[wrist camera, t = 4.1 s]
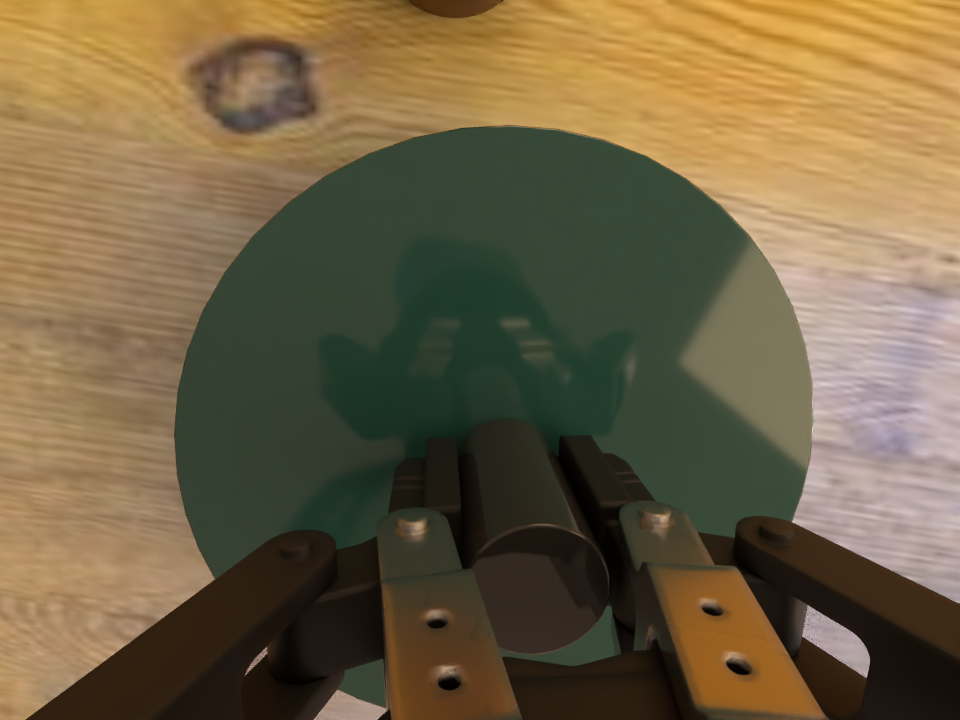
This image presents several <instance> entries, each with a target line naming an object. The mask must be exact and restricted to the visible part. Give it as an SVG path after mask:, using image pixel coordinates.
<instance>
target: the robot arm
mask: <svg viewBox="0 0 960 720" xmlns="http://www.w3.org/2000/svg"><path fill="white" fill-rule="evenodd" d="M558 459H559V461H560V463H561V466H562V468H563V470H564V472H565V474H566V476H567V478H568V481H569V483H570V485H571V487H572V489H573V491H574V493H575V495H576V498H577V500H578V502H579V504H580V506H581V508H582V510H583V512H584V515H585V517H586V519H587V521H588V523H589V525H590V527H591V529H592V532H593V534H594V536H595V538H596V540H597V542H598V544H599V546H600V549H601V551H602V553H603V555H604V557H605V559H606V561H607V564H608V567H609V571H610V577H611V589H610V596H609V600H608V603H607V606H611V608H612V618H611V636H612V641H613V646H614V651H615V656H612V657H608V658H605V659H601V660H597V661H594V662H590V663H586V664H583V665H578V666H568V665H561V664H554V663H547V662H541V661H534V660H527V659H521V658H514V657H501V654H500V651H499V648H498V645H497V642H496V639H495V636H494V633H493V630H492V627H491V624H490V620H489V617H488V614H487V611H486V608H485V605H484V602H483V599H482V596H481V593H480V590H479V587H478V584H477V581H476V578H475V575H474V573H473V570H472V569H471V568H469V569H462V565H461V562H460V559H459V558H460V550H461V498H460V485H459V472H458V459H457V445H456V438H427V448H426V458H405V459H404V460H403V461H402V462H401V463H400V464H399V465H398V466H397V467H396V468H395V473H394V481H393V486H392V492H391V498H390V504H389V510H388V514H387V515H386V516H384V517H383V518H382V519H381V520H380V521H379V522H378V524H377V536H375V537H374V538H372V539H370V540H368V541H366V542H363V543H361V544H358V545H354V546H350V547H345V548H341V549H337V550H336V542H335V540H334V538H333V537H332V536H330V535H329V534H327V533H325V532H322V531H318V530H295V531H290V532H287V533H283V534H280V535H278V536H276V537H274V538H272V539H270V540H268V541H267V542H265V543H264V544H263V545H261V546H260V547H258V548H257V549H256V550H254V551H253V552H252V553H250V554H249V555H248V556H246V557H245V558H244V559H242V560H241V561H240V562H238V563H237V564H235V565H234V566H233V567H231V568H230V569H229V570H227V571H226V572H225V573H223V574H222V575H221V576H219V577H218V578H217V579H215V580H214V581H212V582H211V583H210V584H208V585H207V586H206V587H204V588H203V589H202V590H200V591H199V592H198V593H196V594H195V595H194V596H192V597H191V598H189V599H188V600H187V601H185V602H184V603H183V604H181V605H180V606H179V607H177V608H176V609H175V610H173V611H172V612H171V613H169V614H168V615H167V616H165V617H164V618H162V619H161V620H160V621H158V622H157V623H156V624H154V625H153V626H152V627H150V628H149V629H148V630H146V631H145V632H144V633H142V634H141V635H139V636H138V637H137V638H135V639H134V640H133V641H131V642H130V643H129V644H127V645H126V646H125V647H123V648H122V649H121V650H119V651H118V652H116V653H115V654H114V655H112V656H111V657H110V658H108V659H107V660H106V661H104V662H103V663H102V664H100V665H99V666H98V667H96V668H95V669H93V670H92V671H91V672H89V673H88V674H87V675H85V676H84V677H83V678H81V679H80V680H79V681H77V682H76V683H75V684H73V685H72V686H70V687H69V688H68V689H66V690H65V691H64V692H62V693H61V694H60V695H58V696H57V697H56V698H54V699H53V700H52V701H50V702H49V703H47V704H46V705H45V706H43V707H42V708H41V709H39V710H38V711H37V712H35V713H34V714H33V715H31V716H30V717H29V718H27V719H26V720H314V718H315V717H316V716H317V715H318V713H319V712H320V711H321V709H322V708H323V707H324V706H325V704H326V703H327V702H328V701H329V699H330V698H331V697H332V696H333V694H334V693H335V692H336V691H337V689H338V688H339V686H340V685H341V683H342V681H343V678H344V670H347V669H351V668H354V667H357V666H360V665H364V664H367V663H370V662H373V661H377V660H380V659H383V670H384V685H385V699H386V712H385V713H384V714H383V715H382V716H381V717H380V718H379V719H378V720H960V604H959V603H956V602H954V601H952V600H950V599H948V598H946V597H944V596H942V595H940V594H938V593H936V592H934V591H932V590H930V589H928V588H926V587H924V586H922V585H920V584H917V583H915V582H913V581H911V580H909V579H907V578H905V577H903V576H901V575H899V574H897V573H895V572H893V571H891V570H889V569H887V568H885V567H883V566H881V565H878V564H876V563H874V562H872V561H870V560H868V559H866V558H864V557H862V556H860V555H858V554H856V553H854V552H852V551H850V550H848V549H846V548H844V547H842V546H839V545H837V544H835V543H833V542H831V541H829V540H827V539H825V538H823V537H821V536H819V535H817V534H815V533H813V532H811V531H809V530H807V529H805V528H803V527H800V526H798V525H796V524H794V523H792V522H789V521H786V520H783V519H779V518H774V517H768V516H750V517H746V518H743V519H741V520H739V521H738V522H737V524H736V530H735V538H733V537H727V536H720V535H713V534H707V533H701V532H698V531H696V529H695V527H694V525H693V523H692V521H691V519H690V518H689V516H688V515H687V514H686V513H685V512H683V511H682V510H680V509H678V508H676V507H674V506H672V505H669V504H666V503H662V502H656V501H655V499H654V498H653V496H652V495H651V494H650V492H649V491H648V490H647V488H646V487H645V486H644V484H643V483H641V480H640V479H639V477H638V476H637V475H636V474H635V472H634V471H633V469H632V468H631V466H630V465H629V464H628V462H626V461H625V460H623V459H621V458H620V457H618V456H616V455H615V454H613V453H602V451H601V450H600V448H599V447H598V445H597V444H596V442H595V441H594V439H593V438H592V436H591V435H563V436H560V439H559V447H558ZM807 605H809V606H810V607H812V608H814V609H815V610H817V611H819V612H820V613H822V614H824V615H825V616H827V617H829V618H830V619H832V620H834V621H835V622H837V623H839V624H840V625H842V626H844V627H845V628H847V629H849V630H850V631H852V632H853V633H854V634H856V635H857V636H858V637H859V638H860V639H861V641H862V642H863V643H864V645H865V646H866V648H867V650H868V652H869V656H870V666H869V671H868V676H867V679H866V678H865V677H863V676H862V675H860V674H859V673H857V672H856V671H854V670H853V669H851V668H850V667H848V666H847V665H845V664H843V663H842V662H840V661H839V660H837V659H836V658H834V657H833V656H831V655H830V654H828V653H827V652H825V651H824V650H822V649H820V648H819V647H817V646H816V645H814V644H813V643H811V642H810V641H808V640H807V639H805V638H804V637H802V634H803V628H804V622H805V616H806V611H807ZM266 647H267V652H268V654H267V655H266V656H265V657H264V658H263V659H262V660H261V661H260V662H259V663H258V664H257V665H256V666H255V667H254V668H253V669H252V670H251V671H250V672H249V673H248V674H246V675H245V673H246V671H247V669H248V667H249V666H250V664H251V663H252V661H253V660H254V659H255V658H256V657H257V656H258V655H259V654H260V653H261V652H262V651H263V650H264V649H265V648H266Z"/></svg>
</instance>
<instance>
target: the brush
mask: <svg viewBox="0 0 960 720" xmlns="http://www.w3.org/2000/svg"><path fill="white" fill-rule="evenodd" d="M409 1H411V2H412V3H413V4H414V5H416V6H418V7H420V8H421V9H423V10H425V11H427V12H430V13H432V14H435V15H439V16H443V17H452V18H461V17H469V16H474V15H477V14H480V13H483V12H485V11H487V10H489V9H491V8H493V7H495V6H496V5H497V4H499V3H500V2H502V1H503V0H409Z"/></svg>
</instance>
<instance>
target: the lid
mask: <svg viewBox="0 0 960 720" xmlns="http://www.w3.org/2000/svg"><path fill="white" fill-rule="evenodd" d="M813 424H814V413H813V389H812V378H811V373H810V368H809V362H808V357H807V351H806V346H805V342H804V339H803V336H802V333H801V330H800V327H799V324H798V321H797V318H796V315H795V312H794V309H793V306H792V304H791V302H790V300H789V298H788V297H787V295H786V293H785V291H784V289H783V287H782V285H781V283H780V281H779V279H778V277H777V275H776V273H775V271H774V269H773V268H772V266H771V265H770V264H769V262H768V261H767V259H766V258H765V257H764V255H763V254H762V252H761V251H760V249H759V248H758V247H757V245H756V244H755V242H754V241H753V240H752V238H751V237H750V235H749V234H748V233H747V232H746V231H745V230H744V229H743V228H742V227H741V226H740V225H739V224H738V223H737V222H736V221H735V220H734V219H733V218H732V217H731V216H730V215H729V214H728V213H727V211H726V210H725V209H724V208H723V207H722V206H721V205H720V204H718V203H717V202H716V201H714V200H713V199H712V198H711V197H709V196H708V195H707V194H705V193H704V192H703V191H702V190H700V189H699V188H698V187H696V186H695V185H694V184H693V183H691V182H690V181H689V180H687V179H686V178H684V177H683V176H681V175H679V174H677V173H676V172H674V171H672V170H670V169H669V168H667V167H665V166H663V165H661V164H660V163H658V162H656V161H654V160H653V159H651V158H649V157H647V156H645V155H642V154H640V153H637V152H635V151H632V150H629V149H627V148H624V147H622V146H619V145H616V144H614V143H611V142H609V141H606V140H603V139H599V138H595V137H590V136H586V135H582V134H577V133H573V132H569V131H564V130H560V129H551V128H539V127H527V126H515V125H504V126H486V127H468V128H459V129H454V130H449V131H444V132H439V133H434V134H429V135H424V136H419V137H414V138H411V139H409V140H406V141H403V142H400V143H397V144H394V145H391V146H389V147H386V148H383V149H380V150H377V151H374V152H372V153H369V154H367V155H365V156H363V157H361V158H359V159H357V160H355V161H353V162H351V163H349V164H347V165H346V166H344V167H342V168H340V169H338V170H336V171H334V172H332V173H330V174H328V175H326V176H325V177H323V178H322V179H321V180H319V181H318V182H316V183H315V184H314V185H312V186H311V187H309V188H308V189H307V190H305V191H304V192H302V193H301V194H300V195H298V196H297V197H295V198H294V199H292V200H291V201H290V202H288V203H287V204H286V205H285V206H284V207H283V208H282V209H281V210H280V211H279V212H278V213H276V214H275V215H274V216H273V217H272V218H271V219H270V220H269V221H268V222H267V223H266V224H265V225H264V226H263V227H262V228H261V229H260V230H259V231H258V232H257V233H255V234H254V235H253V237H252V238H251V239H250V240H249V242H248V243H247V244H246V246H245V247H244V248H243V249H242V251H241V252H240V253H239V254H238V256H237V257H236V258H235V260H234V261H233V262H232V263H231V265H230V266H229V267H228V268H227V270H226V271H225V273H224V274H223V276H222V278H221V280H220V281H219V283H218V285H217V287H216V288H215V290H214V292H213V294H212V295H211V297H210V299H209V301H208V302H207V304H206V306H205V307H204V309H203V311H202V314H201V316H200V319H199V322H198V324H197V327H196V329H195V332H194V334H193V337H192V339H191V342H190V344H189V347H188V350H187V353H186V357H185V362H184V366H183V370H182V375H181V379H180V383H179V388H178V392H177V405H176V417H175V430H174V438H175V453H176V467H177V477H178V481H179V486H180V491H181V495H182V500H183V504H184V509H185V513H186V516H187V519H188V521H189V524H190V527H191V529H192V532H193V535H194V538H195V540H196V543H197V546H198V548H199V550H200V552H201V554H202V556H203V558H204V560H205V562H206V563H207V565H208V567H209V569H210V571H211V573H212V575H213V576H214V578H215V579H217V578H218V577H219V576H221V575H222V574H223V573H225V572H226V571H227V570H229V569H230V568H231V567H233V566H234V565H235V564H237V563H238V562H240V561H241V560H242V559H244V558H245V557H246V556H248V555H249V554H250V553H252V552H253V551H254V550H256V549H257V548H258V547H260V546H261V545H263V544H264V543H265V542H267V541H268V540H270V539H272V538H274V537H276V536H278V535H280V534H283V533H287V532H290V531H295V530H318V531H322V532H325V533H327V534H329V535H330V536H332V537H333V538H334V540H335V542H336V550H337V549H341V548H345V547H350V546H354V545H358V544H361V543H363V542H366V541H368V540H370V539H372V538H374V537H375V536H377V524H378V522H379V521H380V520H381V519H382V518H383V517H384V516H386V515H387V514H388V510H389V504H390V498H391V492H392V486H393V481H394V473H395V468H396V467H397V466H398V465H399V464H400V463H401V462H402V461H403V460H404V459H405V458H426V448H427V438H456V445H457V459H458V472H459V485H460V498H461V550H460V558H459V559H460V562H461V565H462V569H469V568H471V569H472V570H473V573H474V575H475V578H476V581H477V584H478V587H479V590H480V593H481V596H482V599H483V602H484V605H485V608H486V611H487V614H488V617H489V620H490V624H491V627H492V630H493V633H494V636H495V639H496V642H497V645H498V648H499V651H500V654H501V657H514V658H521V659H527V660H534V661H541V662H547V663H554V664H561V665H568V666H578V665H583V664H586V663H590V662H594V661H597V660H601V659H605V658H608V657H612V656H615V651H614V646H613V641H612V636H611V618H612V608H611V606H607V603H608V600H609V596H610V589H611V577H610V571H609V567H608V564H607V561H606V559H605V557H604V555H603V553H602V551H601V549H600V546H599V544H598V542H597V540H596V538H595V536H594V534H593V532H592V529H591V527H590V525H589V523H588V521H587V519H586V517H585V515H584V512H583V510H582V508H581V506H580V504H579V502H578V500H577V498H576V495H575V493H574V491H573V489H572V487H571V485H570V483H569V481H568V478H567V476H566V474H565V472H564V470H563V468H562V466H561V463H560V461H559V459H558V447H559V439H560V436H563V435H591V436H592V438H593V439H594V441H595V442H596V444H597V445H598V447H599V448H600V450H601V451H602V453H613V454H615V455H616V456H618V457H620V458H621V459H623V460H625V461H626V462H628V464H629V465H630V466H631V468H632V469H633V471H634V472H635V474H636V475H637V476H638V477H639V479H640V480H641V483H643V484H644V486H645V487H646V488H647V490H648V491H649V492H650V494H651V495H652V496H653V498H654V499H655V501H656V502H662V503H666V504H669V505H672V506H674V507H676V508H678V509H680V510H682V511H683V512H685V513H686V514H687V515H688V516H689V518H690V519H691V521H692V523H693V525H694V527H695V529H696V531H698V532H701V533H707V534H713V535H720V536H727V537H733V538H735V530H736V524H737V522H738V521H739V520H741V519H743V518H746V517H750V516H768V517H774V518H779V519H783V520H786V521H789V522H792V520H793V517H794V514H795V512H796V509H797V506H798V503H799V501H800V498H801V495H802V492H803V487H804V483H805V479H806V474H807V470H808V466H809V461H810V455H811V445H812V434H813ZM338 690H340V691H342V692H345V693H347V694H349V695H351V696H353V697H355V698H357V699H360V700H363V701H366V702H369V703H372V704H375V705H378V706H381V707H384V708H386V699H385V685H384V670H383V659H380V660H377V661H373V662H370V663H367V664H364V665H360V666H357V667H354V668H351V669H347V670H344V678H343V681H342V683H341V685H340V686H339V688H338Z"/></svg>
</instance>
